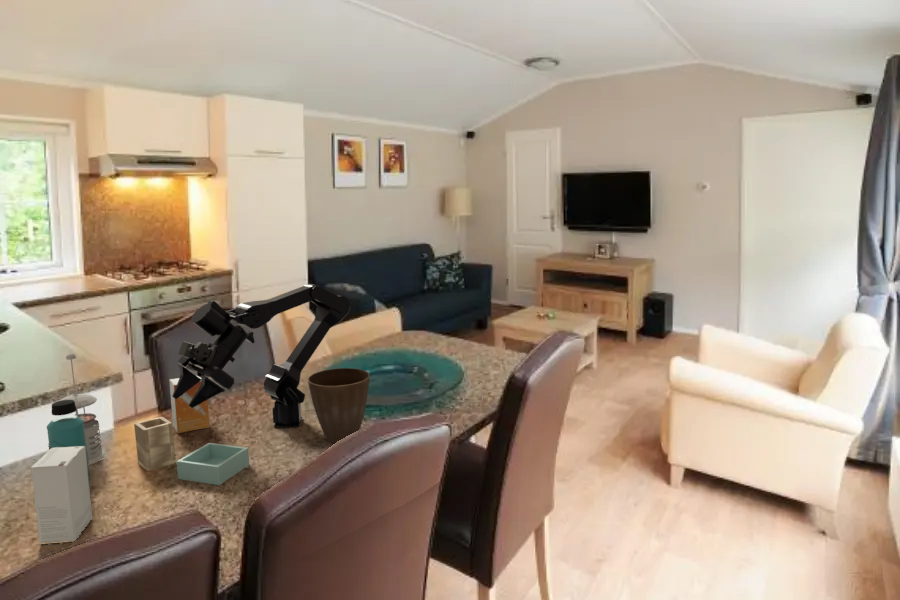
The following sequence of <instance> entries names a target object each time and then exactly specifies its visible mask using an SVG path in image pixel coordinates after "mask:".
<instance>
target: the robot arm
mask: <svg viewBox="0 0 900 600" xmlns="http://www.w3.org/2000/svg"><path fill="white" fill-rule="evenodd" d="M309 302H311V303H313V304H314V305H316V306H317V307H316V310H315V316H314V320H313V321H312V322H311V324H310V325H309V327H308V328H307V330H306V331H305V333H303V336H302V337H301V338H300V340H299V342H297V345H296V346H295V347H294V349H292V352H291V353H290V354H289V356H288V357H287V359H286V360H285V361H284V363H282V364H280V365H279V364H277V363H275V364H272V366H271V368H270V370H269V371H268V373H267V374H266V375H264V378H265V379H264V381H263V388H264V391H265V393H266V394H267V395H269V397H270V399H271V400H272V401H274V402H273V403H274V406H273V407H272V420H273V421H272V423H273V428H298V427H300V426H301V423H302V421H303V416H302V407H301V404H302V403H304V401H305V398H306V394H305V393H303V392H302V391H301V390H300V389H299V388H298V387H299V385H300V382H301V374H302V371H303V370H304V368H305V367H306V365H307V364H308V362H309V360H310V359H311V358H312V356H313V355H314V353H315V352H316V350H317V349H318V347H319V346H320V344H321V343H322V342H323V339H324V338H325V337H326V335H327V334H328V332H329V331H330V329H331V328H333V327H334V326H336V325H337V324H338V323H340V322H342V320H343V319H344V318H345V317H346V316H347V315H348V314H349V312H350V309H351V304H350V301H349V299H348V298H347V297H346V296H344V295H343V296H342V295H338V294H335V293H333V292H331V291H328V290H326V289H324V288H323V287H321V286H320V285H318V284H313V283H305V284H304V285H302V286H301V287H300V286H299V287H297V288H295V289H293V290H289V291H287V292H284V293H282V294H281V293H280V294H278V295H275V296H273V297H271V298H268V299H264V300H263V299H262V300H261V299H260V300H253V301H252V300H251V301H246V302H241V303H239V304H238V305H236V307H235V308H233V309H229V310H224V308H222V306H220V305H219V304H218V302H217V301H215V300H211V299H210V300H208V302H207V303H205V304H203V305H201V306H200V307H199V308H197V309H196V310H195V312H194V313H192V314H193V315H192V316H191V322H192V323H193V324H194V325H195V326H197V327H198V328H199V329H200V330H202V331H203V332H204V333H206V335H208V336H209V337H214V336H217V337H216V338H215V339H214V341H213V342H206V343H203V342H201V341H198V342H197V343H196V344H195V343H192V342H189V341H185V340H182V341H181V345H180V348H179V350H178V353H177V354H178V355H182V356H180V358H179V359H178V361H177V363H178V365H177V366H178V369H179V373H180V374H179V377H178V378H179V381H178V383H177V386H176V388H175V391H174V393H173V396H172V397H173V398H175V399H177V398H179V397H180V396H181V395H183V394H184V393H185V392H187V391H188V390H189V389H190V388H192V387H193V386H194V385H196V384H197V383H198V382H199V381H201V385H200V387H199V389H198V390H197V392H196V393H195V395H194V397H193V398H192V400H191V402H190V404H189V406H190V407H191V408H194V407H195V406H197V405H199V404H201V403H202V402H204V401H206V400H208V401H209V399H211V398H213V397H215V396H217V395H219V394H221V393H224V392H226V390H227V391H230V390H231V389H232V387H234V385H235V378H234V377H233V376H231V375H230V374H228V373H227V372H226V371H225V370H224V369H225V368H226V367H227V365H228V364H229V363H234V361H235V360H236V358H235V355H236V354H237V352H238V351H239V349H240V348H241V347H242V346H243V344H244V343H245V342H247V343H250V344H254V343H256V342H255V341H256V340H255V336H254V332H253V331H250V330H246V329H244V328H243V327H246V328H249V329H252V330H253V329H254V330H255V329H259V328H260V327H263V326H264V325H266V324H267V323H270V321H271V320H272V319H273V318H274V317H275V316H277V315H279V314H282V313H284V312H286V311H289V310H292V309H294V308H297V307H299V306H301V305H304V304H306V303H309ZM232 323H236V324H238V325H234V324H232ZM242 326H243V327H242ZM197 376H198V377H201V379H200V378H198V377H197Z"/></svg>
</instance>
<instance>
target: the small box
mask: <svg viewBox="0 0 900 600" xmlns="http://www.w3.org/2000/svg"><path fill="white" fill-rule="evenodd" d="M197 377H198V376H197ZM179 378H180V377H178V378H170V379H169V390H170V391H169V392H170V403H171V405H170V406H171V414H172V415H171V416H172V427H173V428H174V430H175V431H176V433H177V434H181V433H182V434H183V433H186V432H190V431H196V430H202V429H208V428H211V426H210V425H211V424H210V408H209V399H208V400H206V401H204V402H202V403H201V404H199V405H197V406H195V407H194V408H191V407H190V406H189V404H190V402H191V400H192V398H193V397H194V395H195V393H196V392H197V390H198V389H199V387H200V385H201V381H199V382H198V383H197V384H196V385H194V386H193V387H192V388H190V389H189V390H188V391H187V392H185V393H184V394H183V395H181V396H180V397H179V398H177V399H175V398H173V397H172V396H173V393H174V391H175V388H176V386H177V383H178V381H179ZM198 378H200V379H201V377H198Z"/></svg>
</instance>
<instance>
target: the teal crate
mask: <svg viewBox="0 0 900 600" xmlns="http://www.w3.org/2000/svg"><path fill="white" fill-rule="evenodd" d="M248 466H250V453H249V447H247V446H246V447H245V446H237V445H231V444H222V443H213V442H208V443H206V444H205V445H202V446H201V447H199V448H198V449H197V448H196V450H194V451H192V452H190V453H188V454H187V455H185V456H183V457H181V458H180V459H178V460H176V470H177V479H178V480H183V481H189V482H196V483H202V484H203V483H204V484H209V485H216V486H221V484H223V483H224V482H226V481H227V480H228V479H231V478H232V477H233V476H235V475H236V474H237V473H239V472H241V471H243V470H244V469H245V468H247V467H248Z"/></svg>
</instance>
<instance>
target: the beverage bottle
mask: <svg viewBox="0 0 900 600" xmlns="http://www.w3.org/2000/svg"><path fill="white" fill-rule="evenodd" d="M60 400H61V401H60ZM60 400H58V401H55V402H53V403H51V415H52V416H56V417H55V418H53V419H52V420H51V421H50V422H49V423H47V425H46V430H47V436H48V445H47V447H48V451H49V450H50V449H51V448H55V447H76V446H85V450H86V441H85V432H84V420H83V419H81V418H80V417H78V416H76V415H75V414H72V413H76V406H75V401H74V400H62V399H60ZM57 416H58V417H57ZM87 455H88V454H87V450H86V460H87V470H88V480H89V488H90V487H91V483H92V482H91V476H90V475H91V474H90V465H88V463H89V461H88V460H89V458H88V457H87Z"/></svg>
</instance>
